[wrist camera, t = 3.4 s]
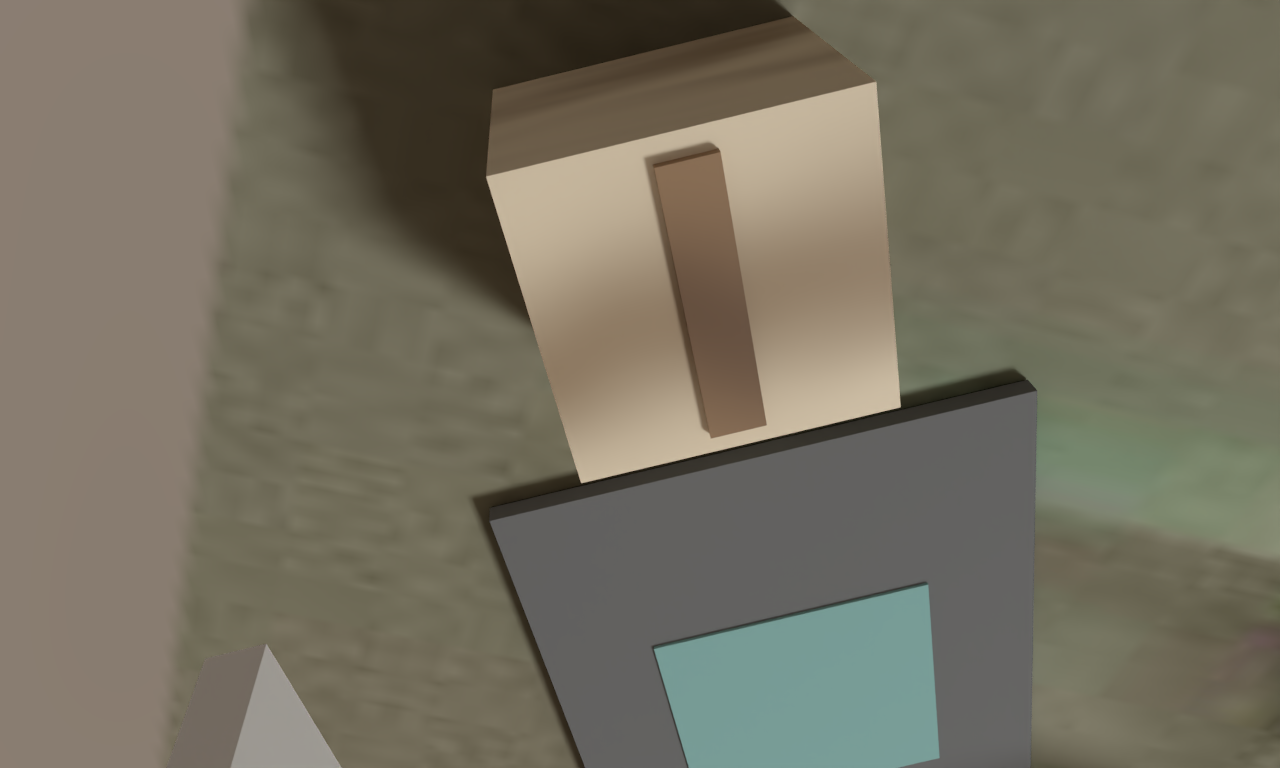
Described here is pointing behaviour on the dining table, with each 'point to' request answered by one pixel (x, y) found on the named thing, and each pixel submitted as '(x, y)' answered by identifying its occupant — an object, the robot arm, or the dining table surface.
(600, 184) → the birch block
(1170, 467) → the dining table surface
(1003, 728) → the rubber mat
